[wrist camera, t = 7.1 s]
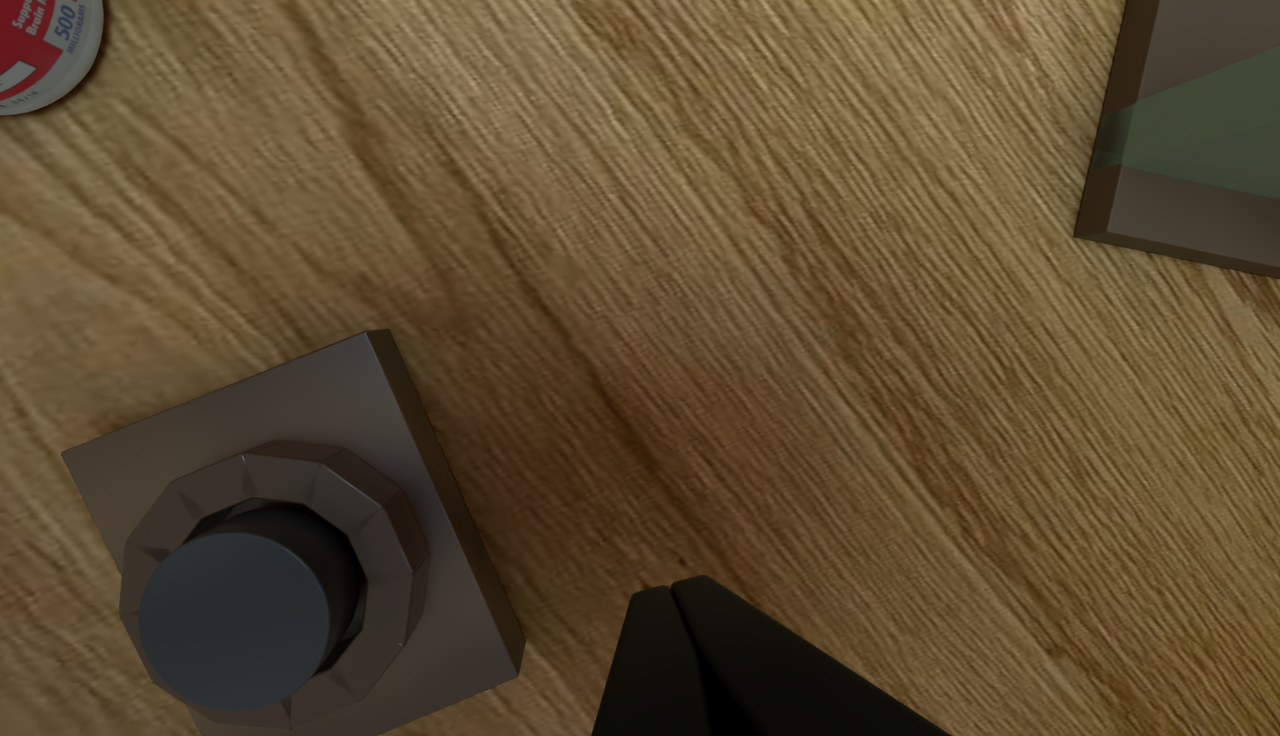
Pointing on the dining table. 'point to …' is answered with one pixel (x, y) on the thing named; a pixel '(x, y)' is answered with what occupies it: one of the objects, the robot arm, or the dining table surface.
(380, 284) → the dining table surface
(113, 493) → the button box
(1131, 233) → the wall plate
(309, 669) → the button
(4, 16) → the pill bottle
